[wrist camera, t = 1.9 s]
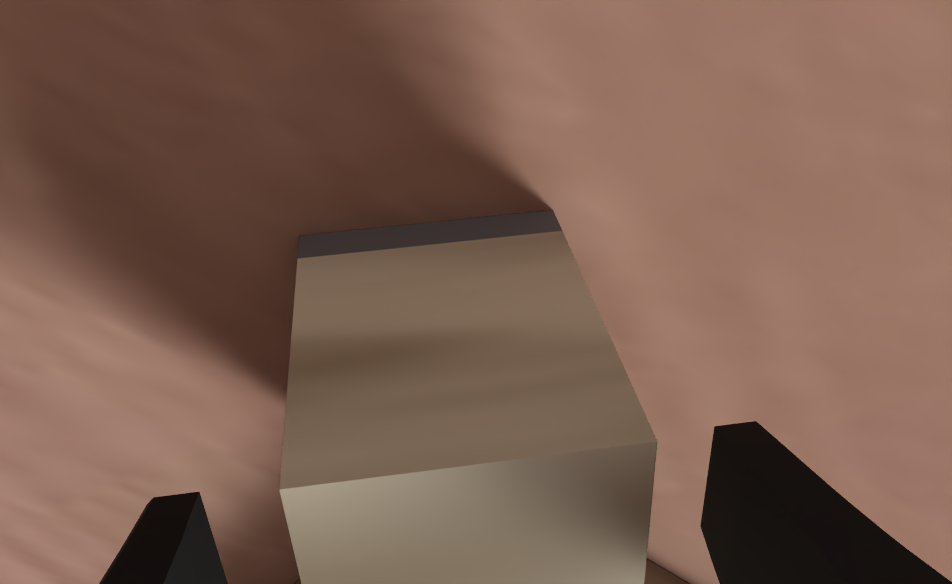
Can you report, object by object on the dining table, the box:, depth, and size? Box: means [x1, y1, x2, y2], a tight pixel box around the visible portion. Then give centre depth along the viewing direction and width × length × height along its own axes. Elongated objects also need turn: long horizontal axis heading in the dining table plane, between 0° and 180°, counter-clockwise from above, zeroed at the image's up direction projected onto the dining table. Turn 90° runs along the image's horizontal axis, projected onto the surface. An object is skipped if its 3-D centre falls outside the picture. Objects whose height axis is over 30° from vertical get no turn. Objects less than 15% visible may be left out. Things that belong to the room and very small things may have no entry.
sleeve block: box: [279, 210, 657, 584], centre depth 14 cm, size 4×4×6 cm
